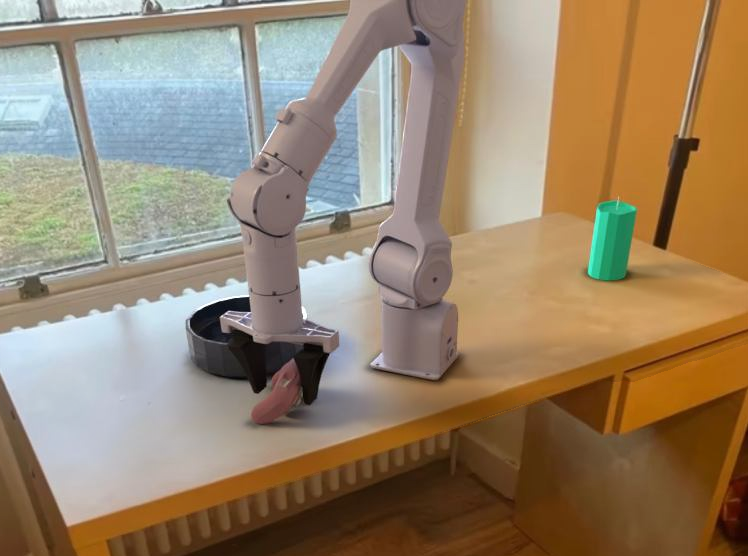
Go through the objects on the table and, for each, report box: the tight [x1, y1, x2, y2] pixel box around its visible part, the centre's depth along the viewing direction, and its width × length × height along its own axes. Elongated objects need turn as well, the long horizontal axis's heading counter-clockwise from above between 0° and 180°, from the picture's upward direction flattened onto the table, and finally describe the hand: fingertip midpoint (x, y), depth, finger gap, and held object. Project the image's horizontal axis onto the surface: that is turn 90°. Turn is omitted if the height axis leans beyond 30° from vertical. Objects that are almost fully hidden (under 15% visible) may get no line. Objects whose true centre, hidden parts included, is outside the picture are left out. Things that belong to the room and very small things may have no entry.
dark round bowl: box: [185, 294, 309, 379], centre depth 108 cm, size 16×16×5 cm
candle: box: [587, 196, 638, 281], centre depth 126 cm, size 6×6×12 cm
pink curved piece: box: [250, 358, 302, 425], centre depth 96 cm, size 10×5×7 cm, turn 168°
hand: (284, 395), depth 96 cm, fingers closed on pink curved piece, 6 cm apart
